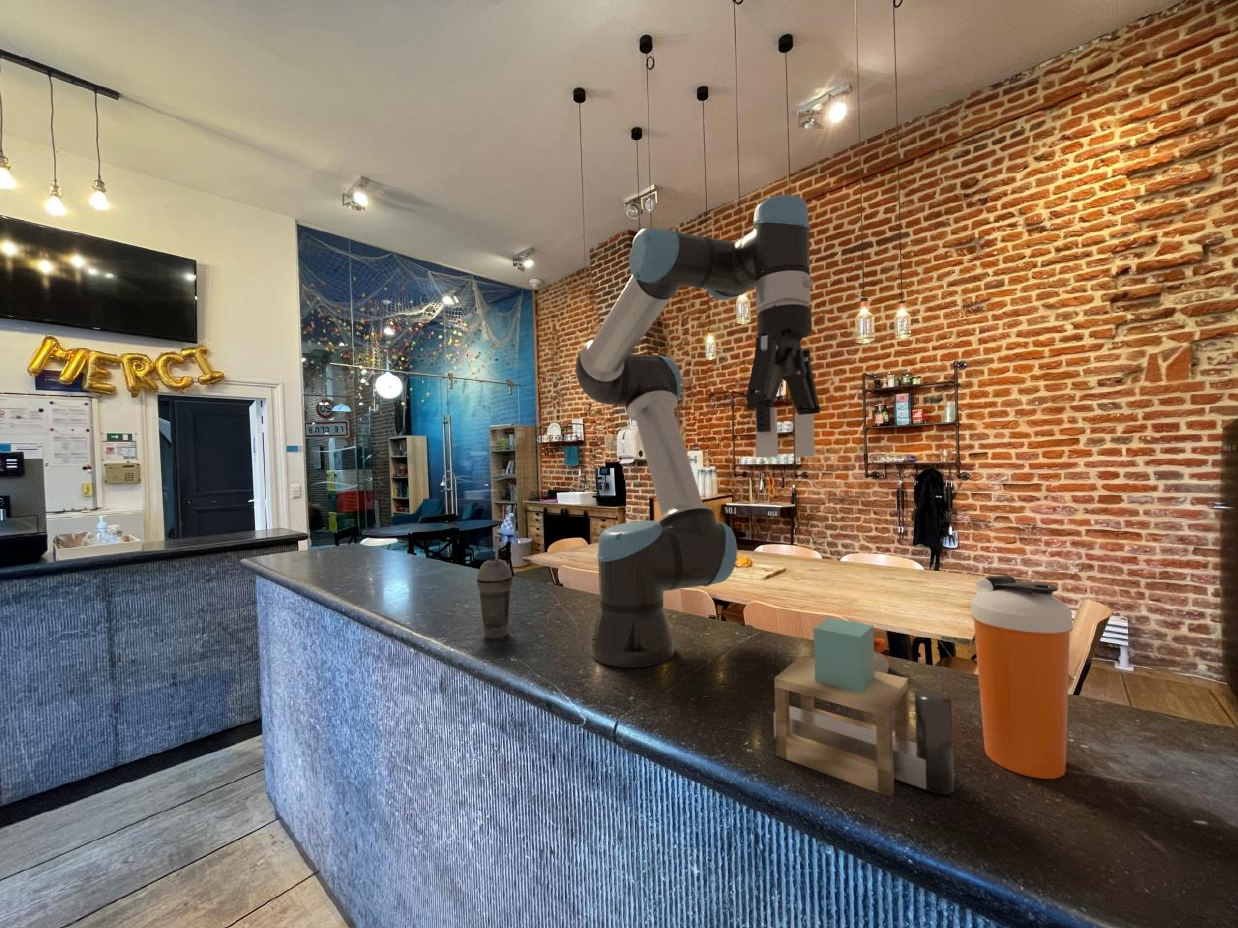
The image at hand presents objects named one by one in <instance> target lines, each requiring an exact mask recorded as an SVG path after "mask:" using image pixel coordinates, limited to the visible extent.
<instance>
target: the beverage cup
mask: <svg viewBox="0 0 1238 928" xmlns="http://www.w3.org/2000/svg"><path fill="white" fill-rule="evenodd" d="M499 541H500V538H499V537H496V539H495V555H494V557H495V558H490V559H487V560H486V561H485V562H483V563H482V564H481V566H480V568H479V569H478V572H477V578H476V583H477V588H478V591H479V598H480V606H481V607H480V608H481V617H482V624H483V625H482V626H483V630H484V631H483V632H484V637H485V638H487V639H500V638H504V637H506V636H507V635H508V629H509V617H510V615H509V614H510V602H511V601H510V600H511V599H510V598H511V597H510V596H511V588H512V582H513V578H514V577H513V574H512V570H511V567H510V566H509V564H508V563H507V562H506V561H504V560H502V559H500V558H499V547H500V545H499Z"/></svg>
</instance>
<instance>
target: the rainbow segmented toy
mask: <svg viewBox="0 0 1238 928" xmlns="http://www.w3.org/2000/svg"><path fill="white" fill-rule="evenodd" d="M888 645H889V643H888V641H887V639H885V638H881V637H877V638H876V637H875V638H874V671H877V672H882V673H886V674H888V671H889V668H890V665H891V659H890V658H889V657H888V656H887V655H886V654H883V653H882V652H884V651H885V650H886V649H887V647H888Z"/></svg>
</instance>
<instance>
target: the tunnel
mask: <svg viewBox="0 0 1238 928" xmlns="http://www.w3.org/2000/svg"><path fill="white" fill-rule="evenodd" d="M874 672H875V678H874V679H873V680H872V682H871V683H870V684H869V685H868V687H867V688H866V689H865V690H864V692H863V693H859V692H856V691H852V690H848V689H844V688H840V687H836V686H832V685H828V684H824V683H820V682H816V681H815V661H814V656H809V655H806V654H802V656H800V657H799V658H797V659H796V660H795V661H794V662H793V663H791V664H790V665H788V667H786V668H785V669H784V670H782V671H781V672H780V673H778V674H777V675H776V676H774V679H773V682H774V708H775V710H774V712H775V719H776V738H775V746H776V747H775V749H776V751H775V752H776V753H775V754H776V756H777V757H779V758H782V759H784V760H787V761H789V762H793V763H795V764H798V765H801V766H804V767H806V768H809V769H812V770H814V771H818V772H820V773H823V774H825V775H828V776H831V777H833V778H836V779H839V780H842V781H845V782H847V783H850V784H853V785H855V786H859V787H861V788H864V789H867V790H869V791H873V792H876V793H878V794H880V795H882V796H883V795H884V796H886V797H887V798H892V797H893V795H894V793H895V784H894V782H895V781H894V774H893V739H892V736H895V737H898V738H902V739H905V740H909V741H911V739H910V738H911V737H910V735H911V733H910V703H909V678H908V677H903V676H898V675H894V674H891V673H882V672H877V671H874ZM790 692H793V693H797V694H800V709H803V710H806V711H810V712H813V713H816V714H820V715H823V716H827V717H830V718H834V719H837V720H840V721H844V722H847V723H851V724H854V725H857V726H861V727H864V728H868V729H871V730H874V731H876V737H877V762H876V761H873V760H870V759H867V758H864V757H861V756H858V755H855V754H852V753H849V752H846V751H843V750H840V749H837V748H834V747H831V746H828V745H825V744H822V743H819V742H816V741H813V740H810V739H806V738H803V737H800V736H797V735H794V734H791V733H790V711H789V706H790ZM814 699H819V700H823V701H825V702H830V703H833V704H837V705H841V706H843V707H848V708H851V709H854V710H855V709H856V710H858V711H863V712H866V713H870V714H873V715H875V725H874V724H872V723H868V722H865V721H861V720H857V719H854V718H851V717H846V716H843V715H840V714H837V713H832V712H829V711H825V710H823V709H819V708H815V700H814ZM893 712H894V728H895V729H894V730H893V715H892V714H893Z"/></svg>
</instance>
